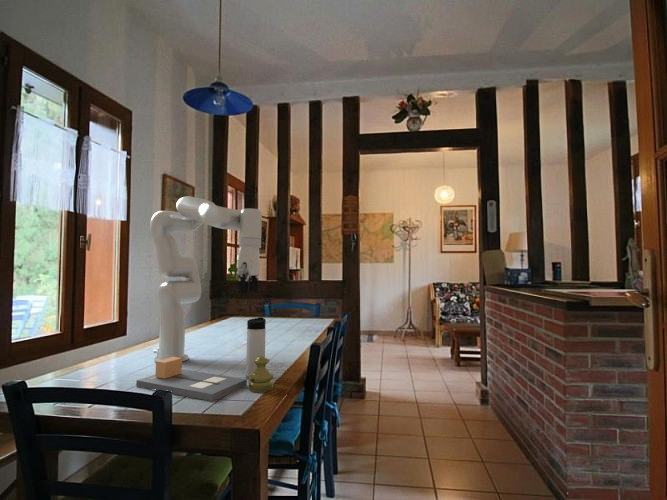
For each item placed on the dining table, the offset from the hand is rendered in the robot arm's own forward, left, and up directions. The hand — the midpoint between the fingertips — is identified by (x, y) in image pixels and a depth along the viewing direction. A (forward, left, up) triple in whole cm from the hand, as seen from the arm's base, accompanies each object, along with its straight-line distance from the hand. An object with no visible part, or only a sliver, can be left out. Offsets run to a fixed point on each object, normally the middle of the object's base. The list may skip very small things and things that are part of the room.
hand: (248, 292), depth 137 cm
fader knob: (-18, -18, -27) cm, 37 cm away
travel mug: (+4, -1, -29) cm, 29 cm away
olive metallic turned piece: (+13, -11, -29) cm, 34 cm away
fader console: (-8, -18, -29) cm, 35 cm away
